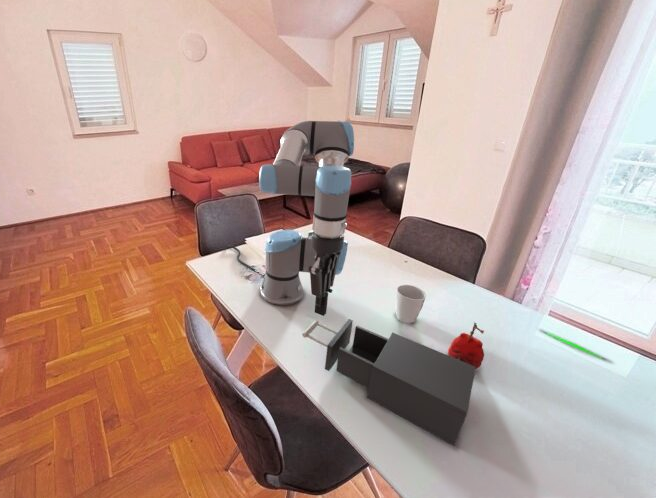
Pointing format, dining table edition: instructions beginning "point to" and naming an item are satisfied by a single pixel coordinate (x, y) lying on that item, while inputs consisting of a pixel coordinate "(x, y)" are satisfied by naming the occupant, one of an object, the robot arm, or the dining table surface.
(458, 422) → the grey storage cabinet
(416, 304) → the cup
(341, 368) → the drawer
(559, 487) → the dining table surface
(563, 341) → the leaf
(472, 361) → the red fruit with stem
